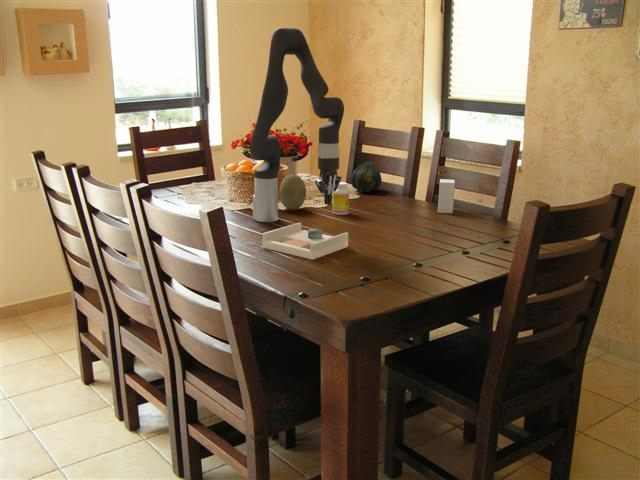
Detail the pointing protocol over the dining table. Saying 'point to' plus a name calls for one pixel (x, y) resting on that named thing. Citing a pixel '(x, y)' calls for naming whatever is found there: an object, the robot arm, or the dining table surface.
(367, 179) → the squash
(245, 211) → the dining table surface
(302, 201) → the fruit
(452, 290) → the dining table surface
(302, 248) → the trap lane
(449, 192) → the small box
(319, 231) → the puck
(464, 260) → the dining table surface
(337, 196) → the supplement bottle
